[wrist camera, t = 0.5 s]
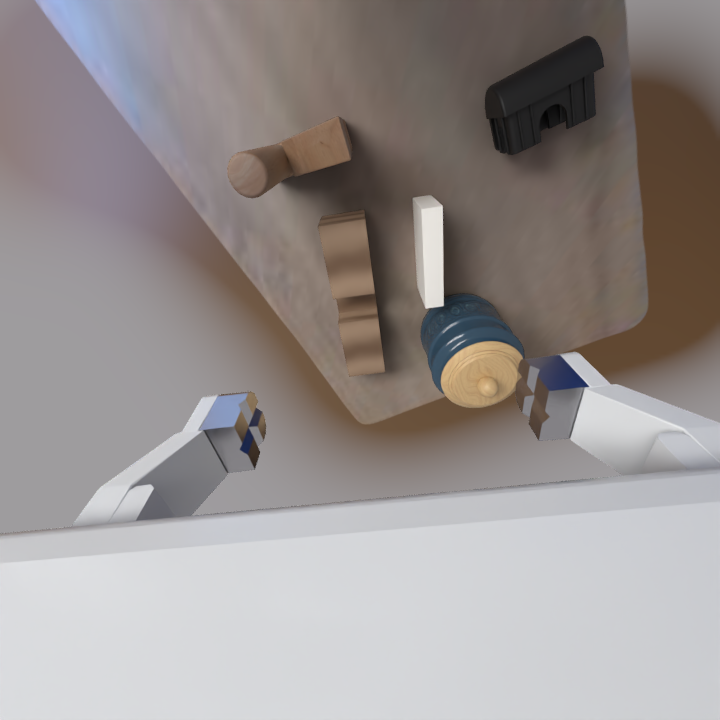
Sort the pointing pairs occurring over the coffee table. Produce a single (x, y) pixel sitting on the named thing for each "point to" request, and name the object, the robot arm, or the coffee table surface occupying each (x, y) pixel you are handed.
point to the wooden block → (290, 158)
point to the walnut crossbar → (353, 290)
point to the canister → (471, 351)
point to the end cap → (544, 96)
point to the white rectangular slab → (429, 249)
